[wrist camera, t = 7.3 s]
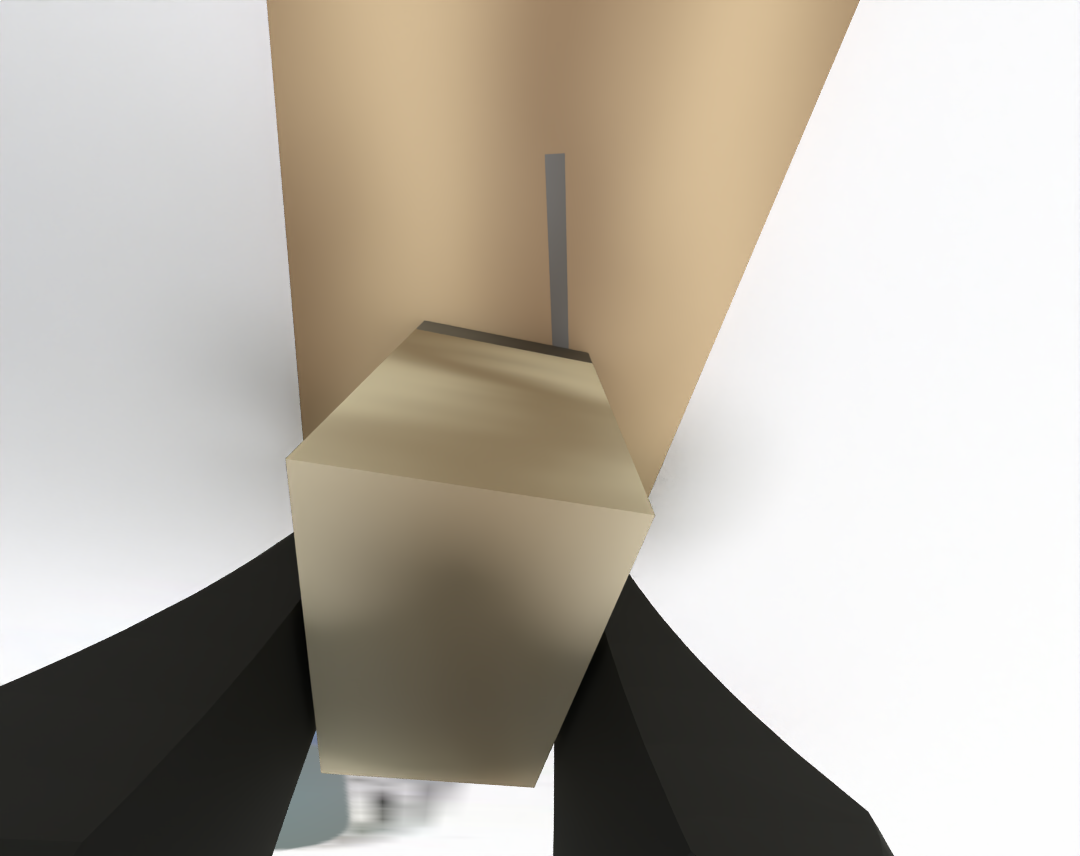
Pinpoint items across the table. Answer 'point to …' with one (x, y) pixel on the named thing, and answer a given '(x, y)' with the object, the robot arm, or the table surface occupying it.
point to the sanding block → (460, 555)
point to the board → (536, 178)
